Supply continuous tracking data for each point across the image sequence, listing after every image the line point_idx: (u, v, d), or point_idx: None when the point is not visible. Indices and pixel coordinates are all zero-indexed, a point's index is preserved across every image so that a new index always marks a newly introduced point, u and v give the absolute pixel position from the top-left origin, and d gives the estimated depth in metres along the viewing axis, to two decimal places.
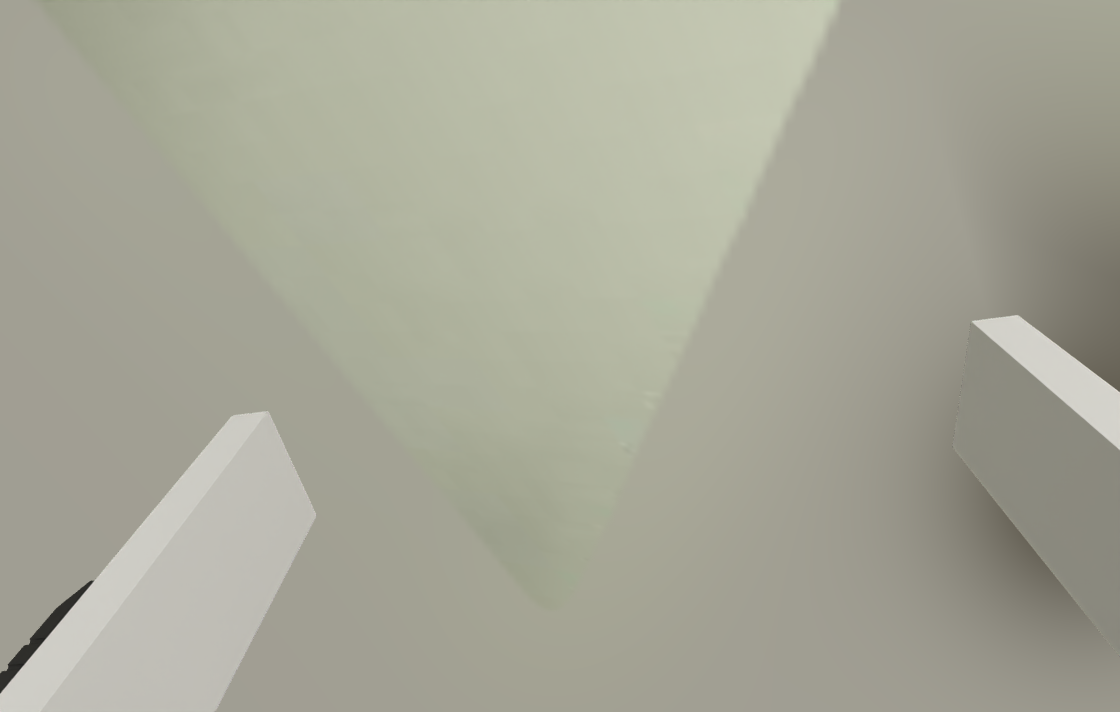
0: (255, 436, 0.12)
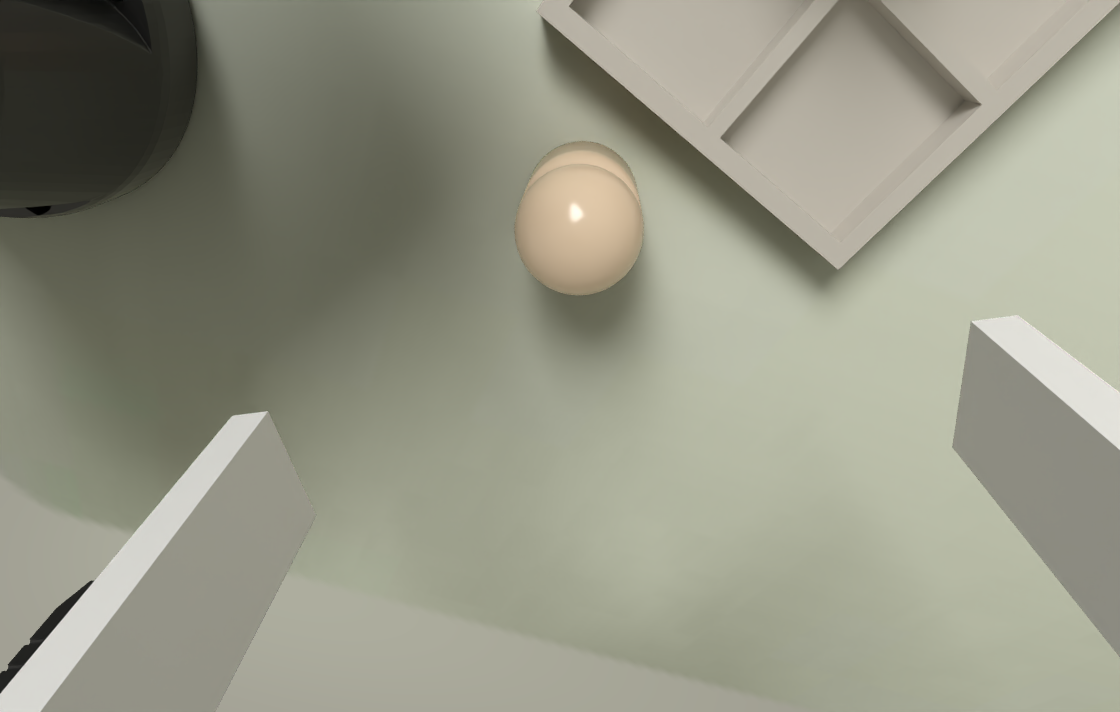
0: (255, 436, 0.12)
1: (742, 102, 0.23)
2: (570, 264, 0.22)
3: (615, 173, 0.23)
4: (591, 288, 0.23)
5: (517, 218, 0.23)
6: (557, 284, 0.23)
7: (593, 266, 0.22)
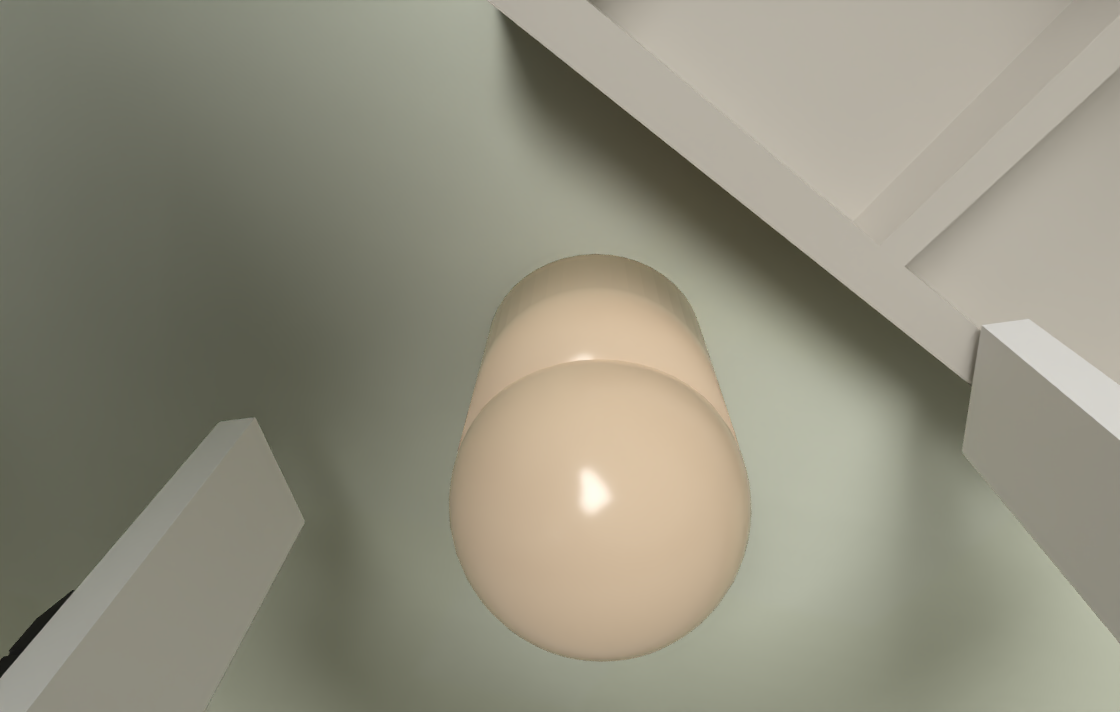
0: (242, 443, 0.12)
1: (967, 191, 0.10)
2: (585, 644, 0.09)
3: (681, 377, 0.10)
4: None
5: (452, 497, 0.09)
6: None
7: (642, 644, 0.09)
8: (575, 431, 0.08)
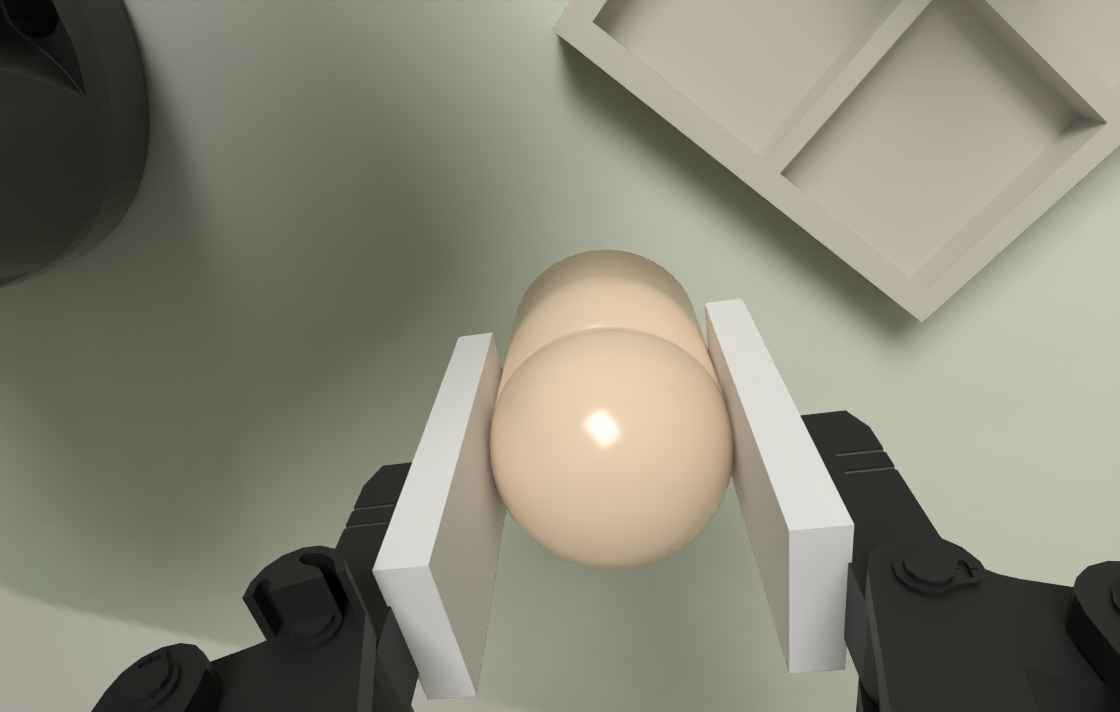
0: (490, 352, 0.13)
1: (808, 130, 0.19)
2: (601, 546, 0.11)
3: (677, 341, 0.12)
4: (639, 566, 0.12)
5: (493, 437, 0.12)
6: (573, 562, 0.12)
7: (646, 547, 0.11)
8: (593, 377, 0.11)
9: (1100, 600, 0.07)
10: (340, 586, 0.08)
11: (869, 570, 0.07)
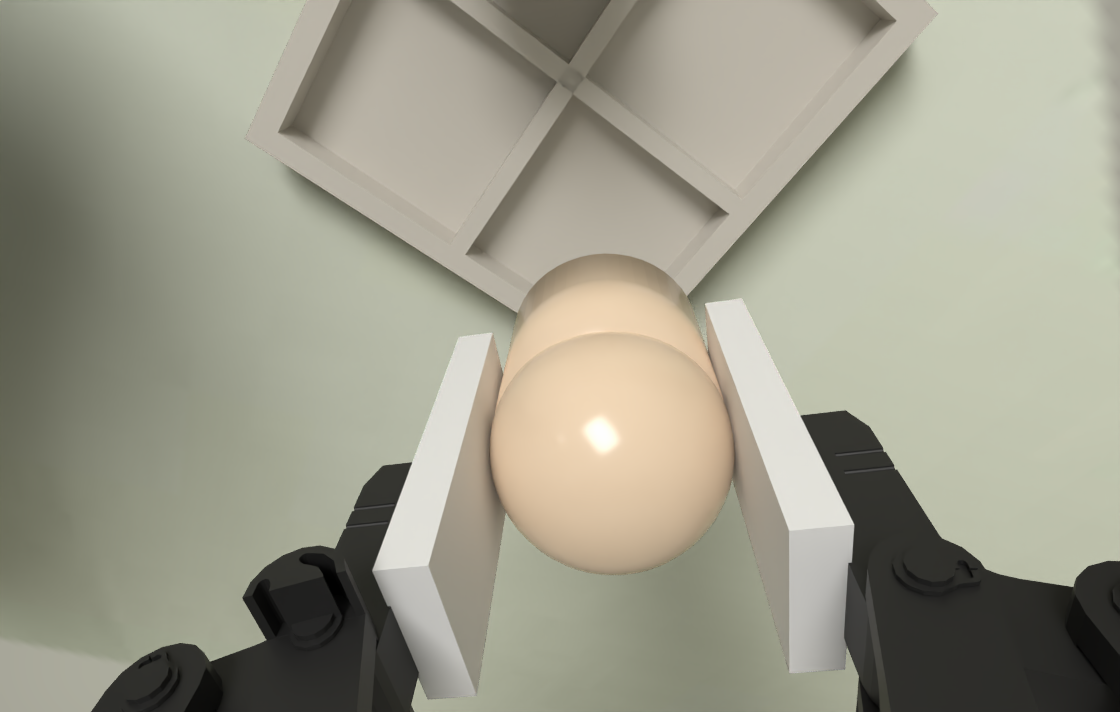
0: (490, 352, 0.13)
1: (480, 220, 0.22)
2: (602, 552, 0.11)
3: (678, 346, 0.12)
4: None
5: (493, 442, 0.12)
6: (573, 567, 0.12)
7: (647, 552, 0.11)
8: (594, 382, 0.11)
9: (1100, 600, 0.07)
10: (340, 586, 0.08)
11: (869, 570, 0.07)
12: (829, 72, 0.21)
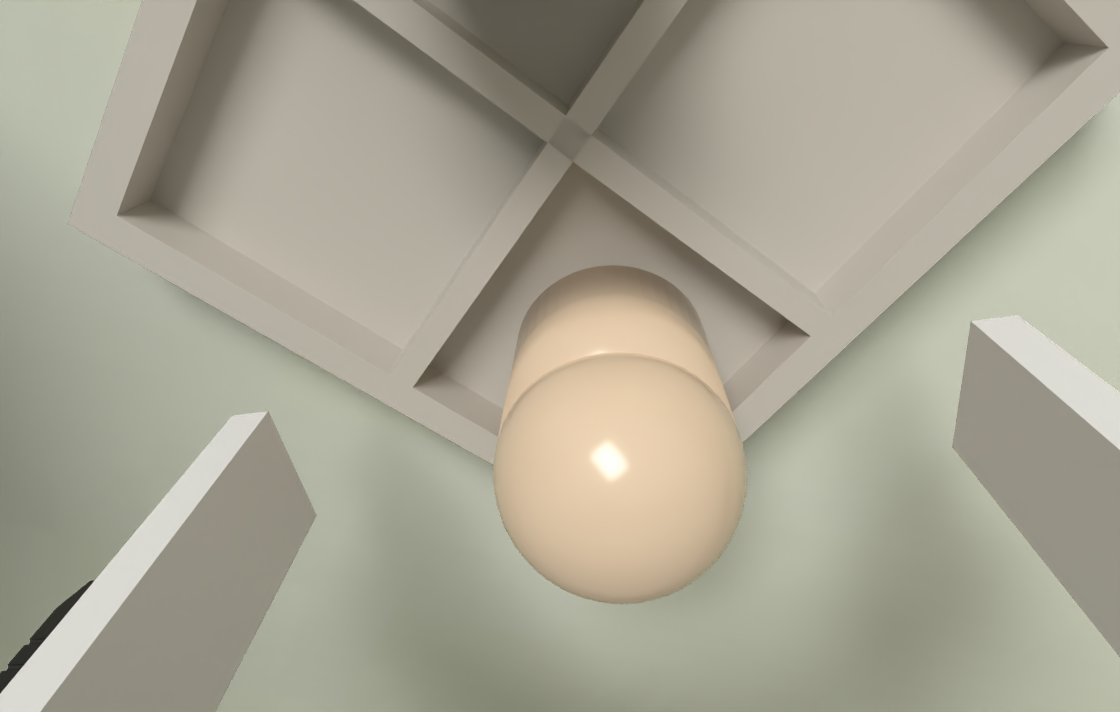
0: (255, 436, 0.12)
1: (433, 341, 0.15)
2: (610, 584, 0.10)
3: (688, 367, 0.12)
4: None
5: (497, 467, 0.11)
6: (580, 596, 0.11)
7: (657, 584, 0.10)
8: (602, 408, 0.10)
9: None
10: None
11: None
12: (974, 124, 0.13)
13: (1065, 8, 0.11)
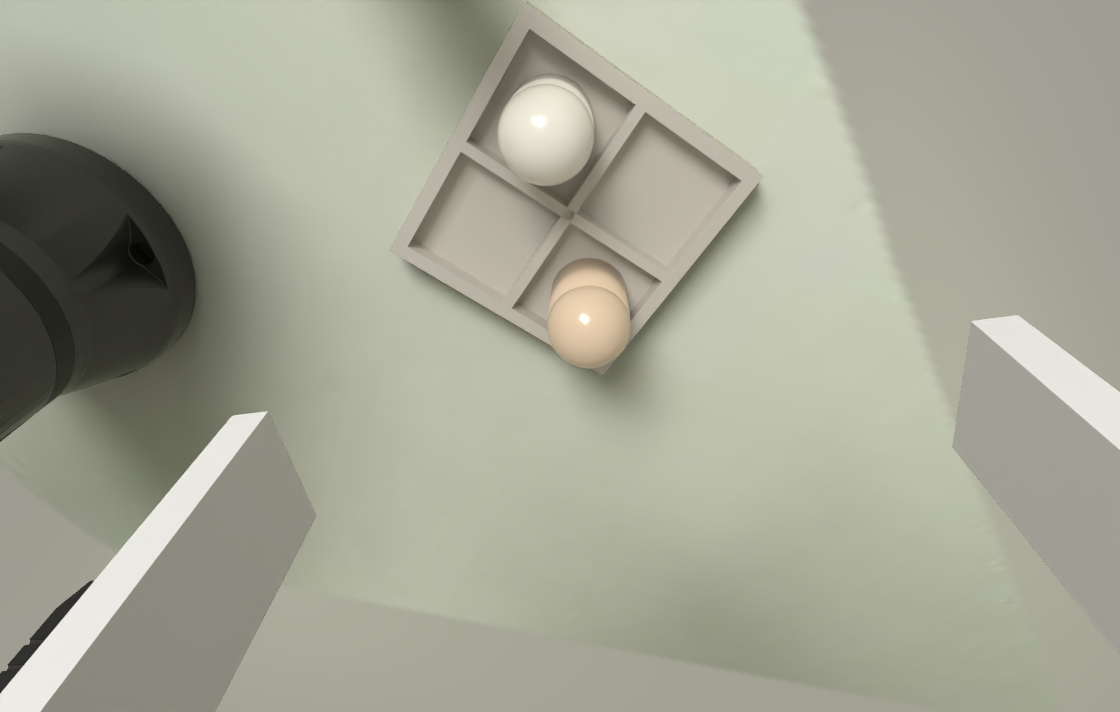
0: (255, 436, 0.12)
1: (520, 289, 0.39)
2: (585, 353, 0.34)
3: (609, 289, 0.35)
4: (599, 365, 0.35)
5: (549, 323, 0.35)
6: (577, 364, 0.35)
7: (599, 353, 0.34)
8: (580, 300, 0.34)
9: None
10: None
11: None
12: (712, 202, 0.37)
13: (726, 169, 0.35)
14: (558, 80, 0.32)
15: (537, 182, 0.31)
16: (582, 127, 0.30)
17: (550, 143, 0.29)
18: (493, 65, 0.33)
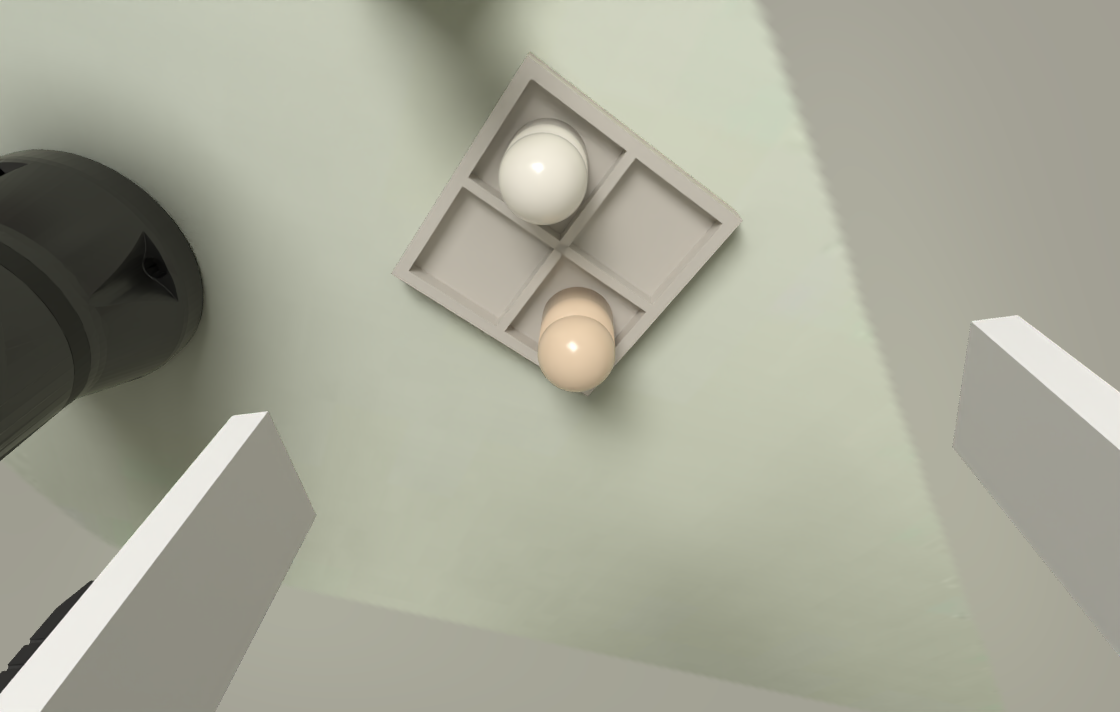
0: (255, 436, 0.12)
1: (513, 314, 0.41)
2: (572, 379, 0.37)
3: (597, 319, 0.38)
4: (584, 389, 0.38)
5: (539, 349, 0.38)
6: (564, 388, 0.38)
7: (585, 379, 0.37)
8: (569, 329, 0.37)
9: None
10: None
11: None
12: (695, 241, 0.40)
13: (708, 212, 0.38)
14: (556, 127, 0.34)
15: (533, 222, 0.33)
16: (577, 175, 0.32)
17: (546, 189, 0.32)
18: (496, 109, 0.35)
